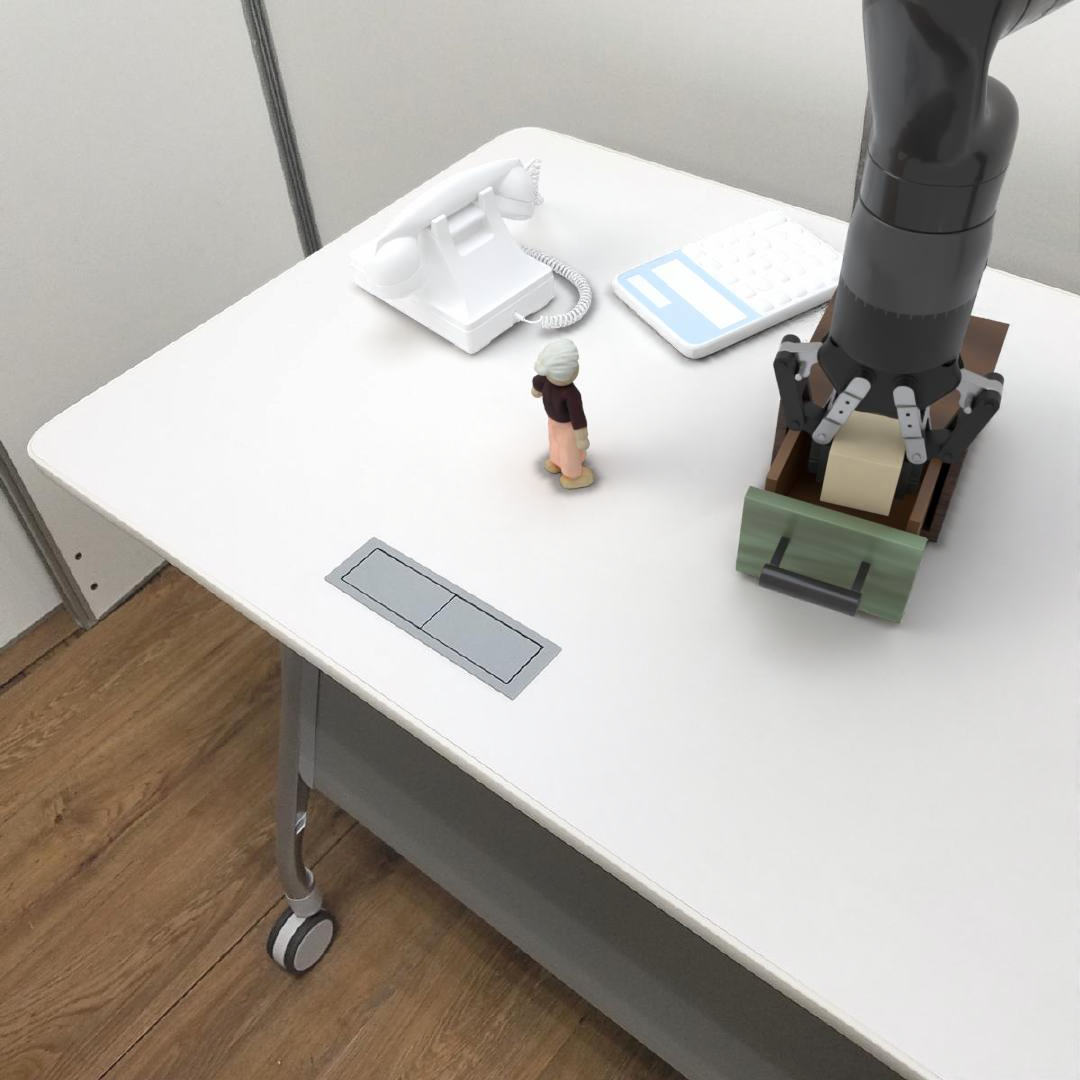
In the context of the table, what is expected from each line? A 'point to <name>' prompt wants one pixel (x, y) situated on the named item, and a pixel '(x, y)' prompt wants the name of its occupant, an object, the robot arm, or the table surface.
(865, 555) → the drawer
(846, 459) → the block
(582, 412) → the grandmother figurine
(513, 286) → the telephone
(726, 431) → the table surface
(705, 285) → the calculator
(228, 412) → the table surface
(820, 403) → the cabinet
